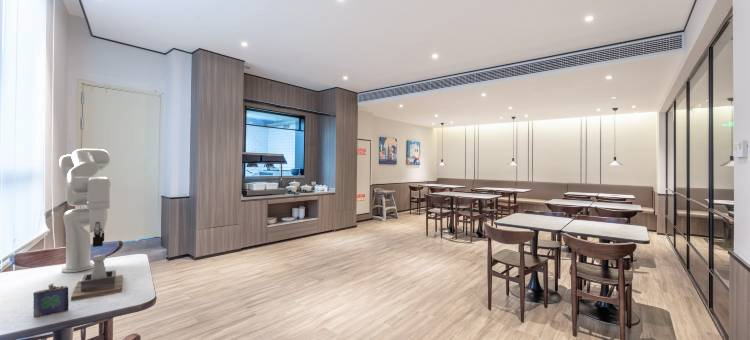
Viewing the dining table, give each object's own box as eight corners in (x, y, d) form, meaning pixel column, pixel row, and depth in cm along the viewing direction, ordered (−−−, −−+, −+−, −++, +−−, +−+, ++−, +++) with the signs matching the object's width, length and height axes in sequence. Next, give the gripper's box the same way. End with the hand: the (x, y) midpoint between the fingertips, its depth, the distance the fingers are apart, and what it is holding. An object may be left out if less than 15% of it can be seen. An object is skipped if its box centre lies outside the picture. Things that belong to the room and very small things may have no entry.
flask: (32, 318, 116) (32, 288, 116) (34, 315, 119) (34, 285, 119) (68, 311, 122) (68, 282, 122) (69, 308, 125) (69, 280, 124)
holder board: (78, 284, 149) (78, 272, 149) (122, 277, 159) (122, 266, 159) (70, 300, 132) (70, 287, 132) (121, 291, 141) (121, 279, 141)
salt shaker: (97, 287, 142) (97, 257, 142) (86, 286, 143) (86, 256, 143) (110, 282, 148) (110, 254, 147) (100, 281, 149) (100, 253, 149)
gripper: (89, 203, 150) (89, 241, 150) (85, 208, 136) (85, 249, 136) (110, 202, 154) (110, 239, 154) (108, 207, 140) (108, 247, 141)
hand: (98, 243), depth 145 cm, fingers open, 9 cm apart
